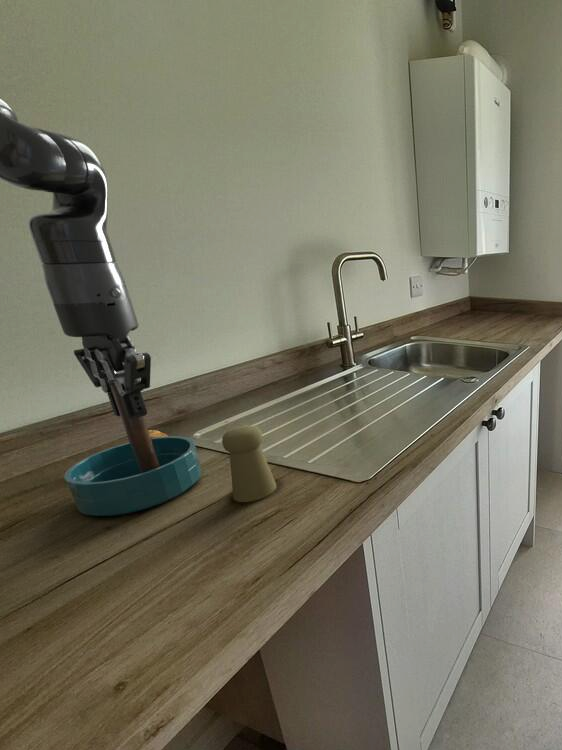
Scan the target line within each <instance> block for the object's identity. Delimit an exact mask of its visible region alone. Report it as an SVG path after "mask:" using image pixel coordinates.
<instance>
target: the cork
mask: <svg viewBox="0 0 562 750" xmlns="http://www.w3.org/2000/svg"><path fill="white" fill-rule="evenodd" d="M263 440H264V439H263V433H262V431H261V429H260V428H258V426H255V425H251V424H246V425H239V426H236V427H233V428H230V429H228V430H227V431H226V432H225V433H224V434H223V435H222V438H221V443H222V447H223V449H224V450H225V451H226V452H228V454H229V463H230V474H231V486H232V498H233V500H234V501H235V502H238V503H250V502H255V501H259V500H261V499H263V498H267V497H268V496H270V495H271V494H273V493H274V491H276V489H277V483H276V480H275V478H274V476H273V475H274V474H273V473H272V470H271V469H270V465H269V464H268V461H267V458H266V455H265V453H264V451H263V448H262V446H261V445H262V443H263Z"/></svg>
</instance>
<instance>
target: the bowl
mask: <svg viewBox="0 0 562 750" xmlns="http://www.w3.org/2000/svg"><path fill="white" fill-rule="evenodd" d="M151 441H152V444H153V447H154V450H155V453H156V456H157V459H158V463H159V467H158V468H156V469H153V470H150V471H147V472H144V473H141V472H140V471H139V468H138V466H137V463H136V460H135V457H134V454H133V451H132V448H131V445H130V443H129V442H127V443H122V444H119V445H115V446H112V447H110V448H107V449H104V450H101V451H99V452H96V453H94V454H92V455H89V456H87V457H84V458H82V459H81V460H80V461H78V462H76V463H75V464H73V465H71V467H70V468H68V469H67V470H66V471H65V474H64V476H63V478H64V480H65V483H66V485H67V488H68V490H69V493H70V496H71V498H72V501H73V503H74V505H75V508H76V509H77V510H78V513H81V514H84V515H85V516H87V515H88V516H97V517H102V516H103V517H104V516H105V517H107V516H108V517H110V516H121V515H127V514H131V513H136V512H139V511H140V512H141V511H145V510H146V509H151V508H153V507H156V506H159V505H161V504H163V503H165V502H168V501H170V500H172V499H174V498H176V497H178V496H180V495H181V494H182V493H184V492H185V491H187V490H188V489H189V488H191V487H192V486H193V485H194V484H195V483H197V481H198V480H199V479H200V478H201V476H202V474H203V470H202V465H201V462H200V458H199V455H198V451H197V448H196V443H195V441H194V440H192V439H191V438H189V437H186V436H174V435H172V436H170V435H168V437H156V438H151Z"/></svg>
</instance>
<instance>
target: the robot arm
mask: <svg viewBox="0 0 562 750" xmlns="http://www.w3.org/2000/svg"><path fill="white" fill-rule="evenodd" d="M0 180H1V181H3V182H5V183H7V184H10V185H12V186H15V187H17V188H21V189H24V190H29V191H35V192H45V193H52V206H51V208H52V209H51V211H50V212H46V213H39V214H36V215H33V216H31V217H30V218H29V220H28V229H29V233H30V237H31V239H32V241H33V245H34V247H35V251H36V252H37V256H38V258H39V261H40V264H41V267H42V271H43V278H44V282H45V285H46V289H47V291H48V293H49V296H50V299H51V302H52V304H53V305H52V306H53V307H54V310H55V313H56V317H57V318H58V321H59V324H60V326H61V329H62V333H63V334H64V335H66V336H67V337H71V338H81V344H82V347H83V348H78V349H74V350H73V353H74V354H73V355H74V356H75V358H76V359H77V361H78V362H79V364H80V366H81V367H82V369H83V370H84V371H85V374H86V375H87V376H88V378H89V380H90V382H91V383H92V384H93V386H94V387H95V388H101V390H102V392H103V393H105V394H107V397H108V399H109V403H110V405H111V408H112V412H113V414H114V415H115V416H116V417H119V418H121V416H120V413H119V410H118V408H117V405H116V402H115V399H114V396H113V393H112V390H111V387H110V385H112V384H115V385H116V387H117V389H118V392H119V394H120V395H121V396H120V398H121V401H122V404H123V407H124V410H125V413H126V416H127V418H129V419H136V418H139V417H142V416H144V417H145V416H147V414H148V410H147V407H146V404H145V401H144V398H143V395H142V394H143V393H142V392H143V391H144V390H146V389H150V387H151V371H152V370H151V367H152V357H151V355H150V353H148V352H142V353H140V352H139V351H137V350H136V346H135V343H134V342H133V341H132V339H131V336H129V333H130V332H131V331H135V330H137V329H138V328H139V323H138V319H137V315H136V313H135V309H134V306H133V302H132V299H131V296H130V293H129V290H128V286H127V283H126V280H125V278H124V275H123V273H122V271H121V269H120V267H119V264H118V262H117V259H116V255H115V251H114V249H113V246H112V243H111V240H110V239H111V238H110V236H109V234H108V213H109V212H108V211H109V209H108V207H109V206H108V205H109V204H108V199H109V198H108V196H109V194H108V193H109V192H108V191H109V190H108V178H107V174H106V171H105V168H104V166H103V164H102V163H101V161H100V159H99V158H98V156H97V154H96V153H95V152H94V150H92V149H91V148H90V147H89V146H88V145H86V144H85V143H84V142H83V141H81V140H80V139H77V138H75V137H71V136H69V135H64V134H62V133H58V132H53V131H48V130H45V129H41V128H38V127H34V126H31V125H26V124H24V123H21V122H19V119H18V116H17V114H16V112H15V111H14V109H13V108H12V107H11V106H10V105H9V104H8V103H7V102H6V101H5V100H4V99H3V98H1V97H0Z"/></svg>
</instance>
